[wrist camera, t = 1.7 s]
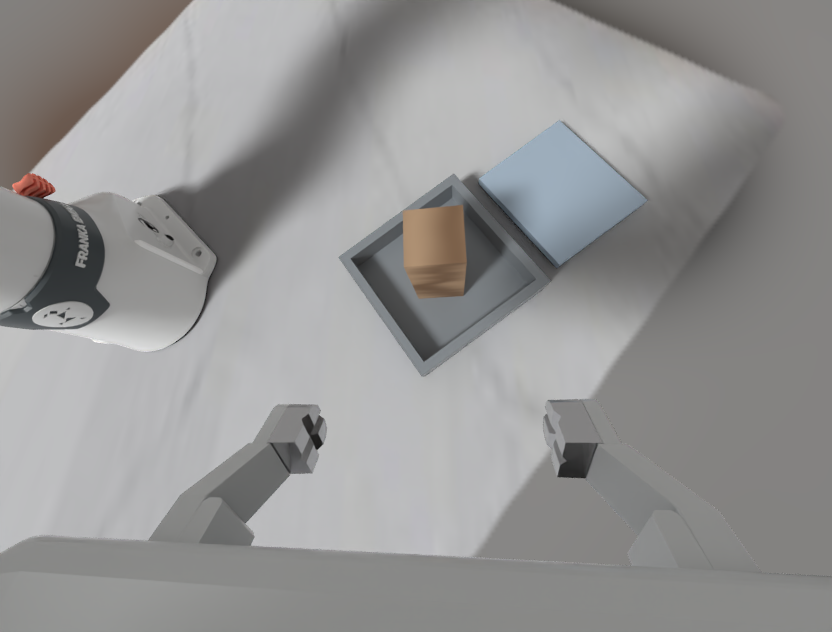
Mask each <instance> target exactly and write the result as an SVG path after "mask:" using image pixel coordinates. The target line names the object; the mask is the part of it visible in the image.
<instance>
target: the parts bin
mask: <svg viewBox="0 0 832 632" xmlns="http://www.w3.org/2000/svg"><path fill="white" fill-rule="evenodd" d="M457 205H463V213H464V229H465V244H466V259H467V264H466V275H465V285H464V296H456V297H440V298H423V299H419V298H418V296H417V294H416V292H415V290H414V288H413V285H412V283H411V281H410V279H409V277H408V275H407V273H406V271H405V268H404V250H403V211H405V210H415V209H425V208H436V207H446V206H457ZM403 211H401V212H400V213H399V214H397V215H396V216H395V217H393V218H392V219H390V220H389V221H388V222H386V223H385V224H384V225H382V226H381V227H379V228H378V229H377V230H375V231H374V232H373V233H371V234H370V235H368V236H367V237H366V238H364V239H363V240H361V241H360V242H359V243H357V244H356V245H355V246H353V247H352V248H350V249H349V250H348V251H346V252H345V253H344V254H342V255H341V256H339V259H340V260H341V262H342V263H343V264H344V266H345V267H346V269H347V270H348V272H349V273H350V274H351V276H352V277H353V279H354V280H355V282H356V283H357V285H358V286H359V287H360V289H361V290H362V292H363V293H364V295H365V296H366V297H367V299H368V300H369V302H370V303H371V305H372V306H373V307H374V309H375V310H376V312H377V313H378V315H379V316H380V317H381V319H382V320H383V322H384V323H385V325H386V326H387V327H388V329H389V330H390V332H391V333H392V335H393V336H394V337H395V339H396V340H397V342H398V343H399V345H400V346H401V347H402V349H403V350H404V352H405V353H406V355H407V356H408V357H409V359H410V360H411V362H412V363H413V365H414V366H415V367H416V369H417V370H418V372H419V373H420V375H421V376H426V375H428V374H429V373H430V372H432V371H433V370H434V369H436V368H437V367H438V366H440V365H441V364H443V363H444V362H445V361H447V360H448V359H449V358H451V357H452V356H453V355H455V354H456V353H458V352H459V351H460V350H462V349H463V348H464V347H466V346H467V345H468V344H470V343H471V342H472V341H474V340H475V339H477V338H478V337H479V336H481V335H482V334H483V333H485V332H486V331H487V330H489V329H490V328H492V327H493V326H494V325H496V324H497V323H498V322H500V321H501V320H502V319H504V318H505V317H506V316H508V315H509V314H511V313H512V312H513V311H515V310H516V309H517V308H519V307H520V306H521V305H523V304H524V303H526V302H527V301H528V300H530V299H531V298H532V297H534V296H535V295H536V294H538V293H539V292H540V291H542V290H543V289H544V288H545V287H546V286H547V285H548V284H549V283H550V282H551V280H550V279H549V278H548V277H547V276H546V275H545V274H544V272H543V271H542V270H541V269H540V268H539V267H538V266H537V265H536V264H535V263H534V261H533V260H532V259H531V258H530V257H529V256H528V255H527V254H526V253H525V251H524V250H523V249H522V248H521V247H520V246H519V245H518V244H517V243H516V242H515V240H514V239H513V238H512V237H511V236H510V235H509V234H508V233H507V232H506V231H505V229H504V228H503V227H502V226H501V225H500V224H499V223H498V222H497V221H496V219H495V218H494V217H493V216H492V215H491V214H490V213H489V212H488V211H487V210H486V208H485V207H484V206H483V205H482V204H481V203H480V202H479V201H478V200H477V199H476V197H475V196H474V195H473V194H472V193H471V192H470V191H469V190H468V189H467V188H466V186H465V185H464V184H463V183H462V182H461V181H460V180H459V179H458V178H457V176H456V175H455V174H453V175H451V176H450V177H448V178H447V179H446V180H444V181H443V182H441V183H440V184H439V185H437V186H436V187H435V188H433V189H432V190H430V191H429V192H428V193H426V194H425V195H424V196H422V197H421V198H419V199H418V200H417V201H415V202H414V203H413V204H411V205H410V206H408V207H407V208H406V209H404V210H403Z"/></svg>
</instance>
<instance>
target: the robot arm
mask: <svg viewBox="0 0 832 632" xmlns="http://www.w3.org/2000/svg"><path fill="white" fill-rule="evenodd" d="M13 188H14V190H15V191H16V192H17V193H15V192H13V191H10V190H8V189H6V188H3V187H1V186H0V327H1V326H5V327H14V328H22V329H33V330H36V329H45V330H50V331H55V332H60V333H65V334H70V335H75V336H80V337H86V338H91V339H92V340H93V341H94V342H96V343H102V344H117V345H120V346H124V347H127V348H130V349H133V350H136V351H142V352H150V351H156V350H160V349H163V348H165V347H167V346H169V345H171V344H173V343H175V342H176V341H177V340H179V339H180V338H181V337H182V336H184V335H185V334H186V333H187V332H188V330H189V329H190V328H191V327H192V326H193V324H194V323H195V321H196V320H197V318H198V316H199V314H200V312H201V310H202V307H203V304H204V301H205V296H206V289H207V282H208V279H209V277H210V275H211V273H212V271H213V269H214V267H215V264H216V255H215V254H214V253H213V252H212V251H211V250H210V249H209V248H208V246H207V245H206V244H205V243H204V242H203V241H202V240H201V239H200V238H199V237H198V236H197V235H196V234H195V233H194V231H193V230H192V229H191V228H190V227H189V226H188V225H187V224H186V223H185V222H184V221H183V220H182V219H181V218H180V216H179V215H178V214H177V213H176V212H175V211H174V210H173V209H172V208H171V207H170V206H169V205H168V204H167V203H166V202H165V200H163V199H162V198H160V197H158V196H156V195H149V196H144V197H140V198H137V199H135V200H133V201H130V200H129V199H127V198H125V197H122V196H120V195H118V194H115V193H111V192H101V193H95V194H92V195H89V196H86V197H84V198H82V199H79V200H77V201H74V202H71V203H69V204H65V203H61V202H57V201H52V200H48V199H43V198H44V197H46V196H48V195H50V194H52V193H54V192H55V188H54V187H53V185H52V184H51V183H48V182H47V180H45V179H44V178H43V179H42V178H41V177H40V176H36V175H35V174H30V173H28V174H26V175H25V176H24V177H23V178H22V180H21V181H20V182H17V183H14V184H13ZM545 409H546V411H547V414H546V415H545V416H544V418H543V432H544V436H545V440H546V443H547V445H548V446H549V447H550V448H551V449H552V454H551V459H552V463H553V466H554V469H555V472H556V475H557V477H564V478H586V481H587V482H588V483H589V484H590V485H591V486H592V487H593V488H594V489H595V490H596V492H597V493H598V494H599V495H600V496H601V497H602V498H603V499H604V500H605V501H606V502H607V503H608V504H609V505H610V507H611V508H612V509H613V510H614V511H615V512H616V513H617V514H618V515H619V516H620V517H621V518H622V519H623V520H624V522H625V523H626V524H628V526H629V527H630V528H631V529H632V530H633V531H634V532H635V533H636V534H637V535H638V537H637V539H636V541H635V542H634V544H633V545H632V547H631V549H630V550H629V552H628V554H627V555H628V557H629V560H630V562H631V565H632V566H628V565H608V564H589V563H571V562H551V561H533V560H532V561H531V560H514V559H494V558H475V557H456V556H437V555H418V554H398V553H379V552H360V551H341V550H321V549H302V548H282V547H263V546H251V543H252V541H253V539H254V533H253V532H252V531H251V529H250V528H249V527H248V526H247V525H246V524H245V523H246V522H247V521H248V520H249V519H250V518H251V517H252V516H253V515H254V514H255V513H256V512H257V510H258V509H259V508H260V507H261V506H262V505H263V504H264V503H265V502H266V501H267V500H268V498H269V497H270V496H271V495H272V494H273V493H274V492H275V491H276V490H277V489H278V488H279V487H280V485H281V484H282V483H283V482H284V481H285V480H286V479H287V478H288V477H289V476H290V474H305V473H313V470H314V467H315V465H316V462H317V460H318V457H319V454H318V451H317V450H318V449H319V448H320V447H321V446H322V445H323V444H324V441H325V438H326V432H327V427H326V422H325V419H324V418H322V417H321V416H320V415H319V414H320V411H321V410H320V408H319V406H318V405H301V404H278V405H277V406H275V407H274V408H273V410H272V411H271V413H270V415H269V416H268V418H267V420H266V421H265V423H264V425H263V426H262V428H261V430H260V431H259V433H258V435H257V436H256V438H255V440H254V441H253V443H248V444H247V445H246V446H244V447H243V448H242V449H240V450H239V451H238V452H236V453H235V454H234V455H232V456H231V457H230V458H229V459H227V460H226V461H225V462H223V463H222V464H221V465H219V466H218V467H217V468H215V469H214V470H213V471H211V472H210V473H209V474H207V475H206V476H205V477H203V478H202V479H201V480H200V481H198V482H197V483H196V484H194V485H193V486H192V487H190V488H189V489H188V490H186V491H185V492H184V493H182V494H181V495H180V496H179V498H178V499H177V500H176V502H175V503H174V505H173V506H172V508H171V509H170V510H169V512H168V513H167V515H166V516H165V517H164V519H163V520H162V522H161V523H160V524H159V526H158V527H157V529H156V530H155V531H154V533H153V534H152V536H151V537H150V538H149V540H148V541H147V540H127V539H107V538H88V537H68V536H53V535H40V536H34V537H30V538H27V539H25V540H23V541H21V542H19V543H17V544H15V545H14V546H12V547H10V548H8V549H6V550H5V551H3V552H1V553H0V632H832V576H819V575H801V574H782V573H781V574H780V573H763V572H761V570H760V569H759V567H758V566H757V565H756V563H755V562H754V560H753V559H752V558H751V556H750V555H749V553H748V552H747V550H746V549H745V548H744V546H743V545H742V543H741V542H740V540H739V539H738V538H737V536H736V535H735V533H734V532H733V530H732V529H731V528H730V526H729V525H728V523H727V522H726V520H725V519H724V517H723V516H722V515H721V513H720V512H719V511H718V510H717V509H716V508H714V507H713V506H712V505H710V504H709V503H708V502H706V501H705V500H704V499H702V498H701V497H699V496H698V495H697V494H695V493H694V492H693V491H691V490H690V489H689V488H687V487H686V486H685V485H683V484H682V483H680V482H679V481H678V480H676V479H675V478H674V477H672V476H671V475H670V474H668V473H667V472H665V471H664V470H663V469H661V468H660V467H659V466H657V465H656V464H655V463H653V462H652V461H651V460H649V459H648V458H647V457H645V456H644V455H642V454H641V453H640V452H638V451H637V450H636V449H634V448H633V447H632V446H630V445H629V444H622V442H621V440H620V438H619V437H618V435H617V433H616V431H615V429H614V427H613V426H612V424H611V422H610V420H609V418H608V417H607V415H606V413H605V411H604V410H603V408H602V406H601V404H600V403H599V401H598V400H597V399H580V400H578V399H567V400H547V402H546V406H545Z"/></svg>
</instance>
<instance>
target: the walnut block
mask: <svg viewBox="0 0 832 632" xmlns="http://www.w3.org/2000/svg"><path fill="white" fill-rule="evenodd" d="M403 250H404V268H405V271H406V273H407V275H408V277H409V279H410V281H411V283H412V285H413V288H414V290H415V292H416V294H417V296H418V298H419V299H423V298H440V297H456V296H464V285H465V275H466V264H467V259H466V244H465V229H464V213H463V205H457V206H446V207H436V208H425V209H415V210H405V211H403Z"/></svg>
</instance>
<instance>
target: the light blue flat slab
mask: <svg viewBox="0 0 832 632" xmlns="http://www.w3.org/2000/svg"><path fill="white" fill-rule="evenodd" d="M479 185H480V186H481V187H482V188H483V189H484V190H485V191H486V192H487V193H488V194H489V195H490V197H491V198H492V199H493V200H494V201H495V202H496V203H497V204H498V205H499V206H500V207H501V208H502V209H503V211H504V212H505V213H506V214H507V215H508V216H509V217H510V218H511V219H512V220H513V221H514V222H515V224H516V225H517V226H518V227H519V228H520V229H521V230H522V231H523V232H524V233H525V234H526V235H527V237H528V238H529V239H530V240H531V241H532V242H533V243H534V244H535V245H536V246H537V247H538V248H539V249H540V251H541V252H542V253H543V254H544V255H545V256H546V257H547V258H548V259H549V260H550V261H551V262H552V264H553V265H554V266H555V267H556V268H558V267H559V266H561V265H562V264H563V263H565V262H566V261H567V260H569V259H570V258H571V257H573V256H574V255H576V254H577V253H578V252H580V251H581V250H582V249H584V248H585V247H586V246H588V245H589V244H590V243H592V242H593V241H595V240H596V239H597V238H599V237H600V236H601V235H603V234H604V233H605V232H607V231H608V230H610V229H611V228H612V227H614V226H615V225H616V224H618V223H619V222H620V221H622V220H623V219H625V218H626V217H627V216H629V215H630V214H631V213H633V212H634V211H635V210H637V209H638V208H639V207H641V206H642V205H643V204H644V203H645V202H647V201H648V200H647V199H646V198H645V197H644V196H642V195H641V194H640V193H639V192H638V191H637V190H636V189H635V188H634V187H633V186H631V185H630V184H629V183H628V182H627V181H626V180H625V179H624V178H623V177H621V176H620V175H619V174H618V173H617V172H616V171H615V170H614V169H613V168H612V167H610V166H609V165H608V164H607V163H606V162H605V161H604V160H603V159H602V158H601V157H599V156H598V155H597V154H596V153H595V152H594V151H593V150H592V149H591V148H590V147H588V146H587V145H586V144H585V143H584V142H583V141H582V140H581V139H580V138H578V137H577V136H576V135H575V134H574V133H573V132H572V131H571V130H570V129H569V128H567V127H566V126H565V125H564V124H563V123H562V122H561V121H560V120H559V121H557V122H556V123H555V124H553V125H552V126H551V127H549V128H548V129H546V130H545V131H544V132H542V133H541V134H540V135H538V136H537V137H535V138H534V139H533V140H531V141H530V142H529V143H527V144H526V145H524V146H523V147H522V148H520V149H519V150H518V151H516V152H515V153H513V154H512V155H511V156H509V157H508V158H506V159H505V160H504V161H502V162H501V163H500V164H498V165H497V166H495V167H494V168H493V169H491V170H490V171H489V172H487V173H486V174H484V175H483V176H482V177H480V178H479Z"/></svg>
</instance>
